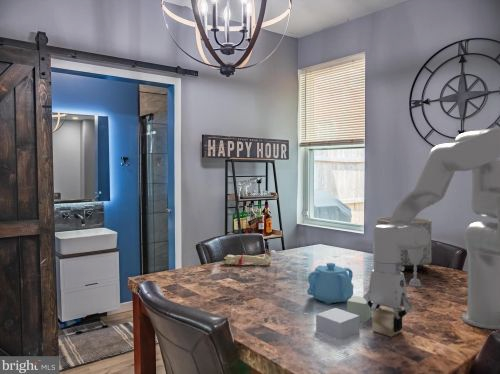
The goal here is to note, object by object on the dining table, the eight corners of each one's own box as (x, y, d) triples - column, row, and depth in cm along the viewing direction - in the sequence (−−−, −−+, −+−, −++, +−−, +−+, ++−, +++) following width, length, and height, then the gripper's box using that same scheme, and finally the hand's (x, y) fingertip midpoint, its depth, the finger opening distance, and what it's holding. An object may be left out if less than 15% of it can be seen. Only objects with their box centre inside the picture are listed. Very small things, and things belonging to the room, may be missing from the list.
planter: (427, 276, 180) (427, 223, 179) (371, 269, 193) (371, 220, 192) (434, 265, 201) (434, 218, 201) (383, 260, 214) (383, 215, 214)
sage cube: (371, 317, 130) (371, 298, 130) (365, 322, 125) (365, 303, 125) (353, 313, 133) (353, 295, 133) (347, 318, 128) (347, 300, 128)
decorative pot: (301, 302, 146) (301, 265, 145) (318, 290, 159) (318, 257, 159) (345, 309, 137) (345, 270, 136) (358, 297, 151) (358, 261, 150)
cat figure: (270, 265, 209) (224, 261, 212) (272, 249, 209) (225, 244, 212) (269, 270, 199) (220, 265, 202) (270, 253, 199) (221, 248, 202)
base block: (359, 332, 118) (359, 315, 118) (340, 340, 112) (340, 322, 112) (335, 323, 125) (335, 307, 125) (316, 330, 119) (316, 314, 119)
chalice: (425, 287, 162) (426, 243, 162) (408, 286, 164) (408, 243, 163) (421, 282, 170) (422, 240, 169) (405, 282, 171) (405, 240, 170)
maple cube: (402, 331, 117) (401, 310, 117) (391, 336, 113) (390, 316, 113) (383, 325, 122) (383, 306, 122) (372, 330, 118) (372, 310, 118)
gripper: (421, 270, 113) (421, 332, 113) (368, 260, 126) (369, 316, 126) (408, 274, 108) (408, 340, 108) (354, 264, 121) (355, 322, 122)
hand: (387, 326), depth 117 cm, fingers closed on maple cube, 6 cm apart
